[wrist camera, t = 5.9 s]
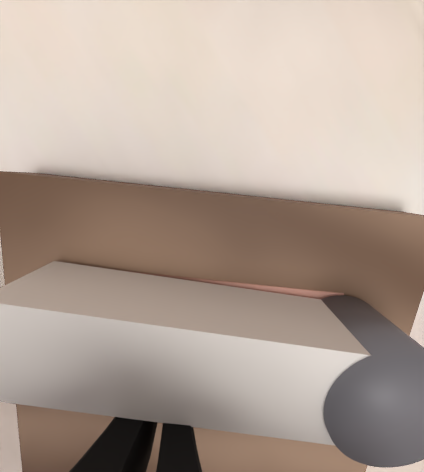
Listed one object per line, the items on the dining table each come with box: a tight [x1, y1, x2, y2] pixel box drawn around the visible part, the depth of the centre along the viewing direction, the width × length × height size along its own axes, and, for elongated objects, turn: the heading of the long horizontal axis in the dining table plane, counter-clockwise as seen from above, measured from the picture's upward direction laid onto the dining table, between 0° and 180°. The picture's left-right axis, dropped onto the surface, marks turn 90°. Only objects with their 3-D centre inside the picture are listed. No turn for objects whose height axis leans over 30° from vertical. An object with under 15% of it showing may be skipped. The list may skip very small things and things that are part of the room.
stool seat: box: [0, 171, 424, 472], centre depth 11 cm, size 16×16×2 cm
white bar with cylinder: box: [0, 261, 424, 467], centre depth 8 cm, size 13×4×3 cm, turn 81°
